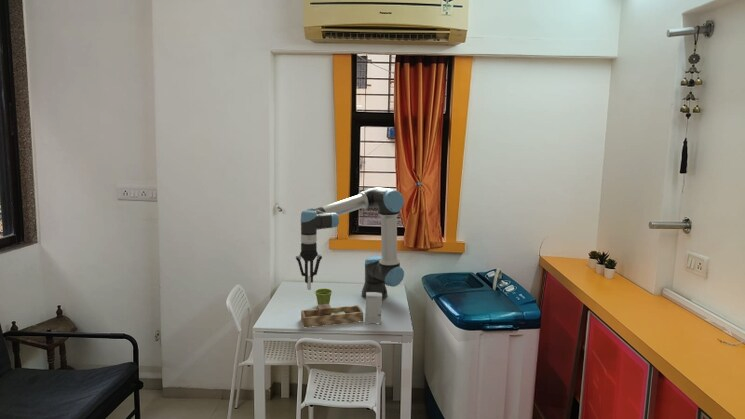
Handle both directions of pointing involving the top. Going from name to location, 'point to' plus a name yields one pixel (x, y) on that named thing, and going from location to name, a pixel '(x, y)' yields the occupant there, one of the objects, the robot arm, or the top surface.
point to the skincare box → (373, 307)
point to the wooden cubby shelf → (332, 316)
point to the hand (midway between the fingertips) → (309, 288)
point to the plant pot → (323, 296)
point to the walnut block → (323, 309)
